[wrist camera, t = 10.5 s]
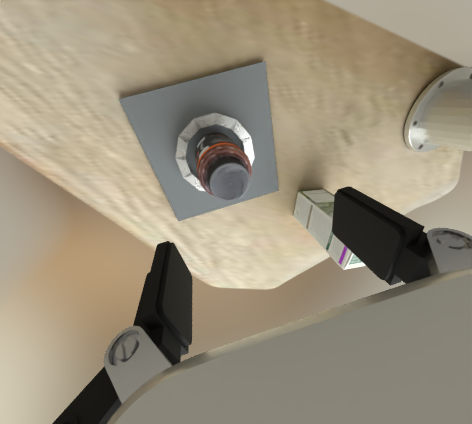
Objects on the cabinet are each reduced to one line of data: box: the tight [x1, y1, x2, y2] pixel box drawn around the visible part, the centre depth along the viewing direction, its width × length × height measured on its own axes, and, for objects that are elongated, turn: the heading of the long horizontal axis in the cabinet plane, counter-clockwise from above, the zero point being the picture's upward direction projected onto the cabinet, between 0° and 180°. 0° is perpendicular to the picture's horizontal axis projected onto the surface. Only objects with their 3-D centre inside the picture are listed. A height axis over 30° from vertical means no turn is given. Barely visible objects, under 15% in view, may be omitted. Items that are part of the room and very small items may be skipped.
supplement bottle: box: [195, 133, 252, 202], centre depth 22 cm, size 6×6×11 cm
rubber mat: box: [119, 61, 279, 221], centre depth 27 cm, size 18×18×1 cm
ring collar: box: [175, 112, 254, 191], centre depth 26 cm, size 10×10×2 cm
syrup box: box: [293, 189, 366, 270], centre depth 30 cm, size 6×6×14 cm
